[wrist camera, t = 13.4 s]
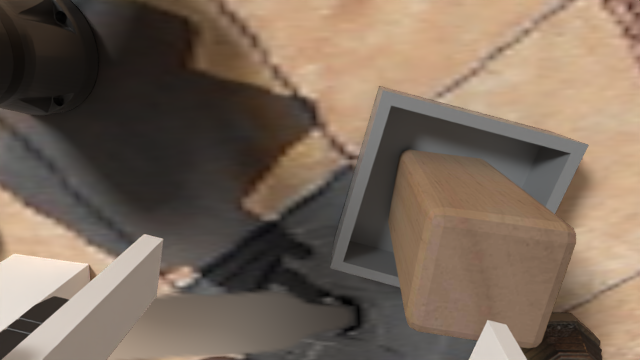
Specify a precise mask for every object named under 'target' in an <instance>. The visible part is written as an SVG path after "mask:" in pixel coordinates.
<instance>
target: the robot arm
mask: <svg viewBox="0 0 640 360" xmlns="http://www.w3.org/2000/svg"><path fill="white" fill-rule="evenodd" d="M97 73H98V52H97V46H96V42H95V39H94V36H93V33H92V31H91V29H90V26H89V25H88V23H87V21H86V19H85V18H84V16H83V15H82V13H81V12H80V11H79V9H78V8H77V7H76V6H75V5H74V4H73V3H72V2H71V1H70V0H0V108H3V109H7V110H12V111H17V112H21V113H26V114H32V115H49V114H55V113H61V112H65V111H68V110H71V109H73V108H75V107H77V106H78V105H79V104H81V103H82V102H83V101H84V100H85V99H86V98H87V97H88V95H89V94H90V92H91V90H92V89H93V86H94V84H95V81H96V78H97ZM162 245H163V239H162V238H158V237H154V236H150V235H146V234H144V235H143V236H141V237H140V238H139V239H138V240H137V241H136V242H135V243H133V244H132V245H131V246H130V247H129V248H128V249H127V250H126V251H124V252H123V253H122V254H121V255H120V256H119V257H118V258H116V259H115V260H114V261H113V262H112V263H111V264H110V265H109V266H107V267H106V268H105V269H104V270H103V271H102V272H101V273H99V274H98V275H97V276H96V277H95V278H94V279H93V280H91V281H90V282H89V283H88V284H87V285H86V286H85V287H84V288H82V289H81V290H80V291H79V292H78V293H77V294H76V295H74V296H73V297H72V298H71V299H70V300H69V299H65V298H61V297H57V296H53V297H51V298H49V299H46V300H44V301H42V302H40V303H38V304H35V305H34V306H33V307H31V308H30V309H29V310H28V311H26V312H25V313H24V314H23V315H21V316H20V318H19V319H16V320H15V321H14V322H13V323H11V324H10V325H9V326H8V327H7V329H6V330H5V329H4V330H3V331H1V332H0V360H107V359H108V357H109V356H110V355H111V354H112V352H113V351H114V350H115V348H116V347H117V346H118V345H119V343H120V342H121V341H122V340H123V338H124V337H125V336H126V335H127V333H128V332H129V331H130V330H131V328H132V327H133V326H134V324H135V323H136V322H137V321H138V319H139V318H140V317H141V316H142V314H143V313H144V312H145V311H146V309H147V308H148V307H149V306H150V304H151V303H152V302H153V300H154V299H155V298H156V297H157V288H158V280H159V271H160V262H161V254H162ZM469 360H527V359H526V357H525V355H524V354H523V352H522V350H521V349H520V347H519V345H518V343H517V342H516V340H515V338H514V337H513V335H512V333H511V332H510V330H509V328H508V326H507V325H506V324H502V323H498V322H494V321H490V320H487V323H486V325H485V327H484V329H483V331H482V333H481V335H480V337H479V339H478V342H477V344H476V346H475V348H474V350H473V352H472V354H471V356H470V358H469Z"/></svg>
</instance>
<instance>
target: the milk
mask: <svg viewBox="0 0 640 360" xmlns="http://www.w3.org/2000/svg"><path fill="white" fill-rule="evenodd" d="M89 282H90V271H89V264H84V263H77V262H69V261H62V260H55V259H48V258H41V257H34V256H27V255H20V254H13V255H11V256H10V257H8V258H7V259H5V260H3V261H2V262H0V332H1V331H3V330H4V329H5V330H6V329H7V327H8V326H9V325H10V324H11V323H13V322H14V321H15V320H16V319H19V318H20V316H21V315H23V314H24V313H25V312H26V311H28V310H29V309H30V308H31V307H33V306H34V305H35V304H38V303H40V302H42V301H44V300H46V299H49V298H51V297H53V296H57V297H61V298H65V299H69V300H70V299H71V298H72V297H73V296H74V295H76V294H77V293H78V292H79V291H80V290H81V289H82V288H84V287H85V286H86V285H87V284H88V283H89Z"/></svg>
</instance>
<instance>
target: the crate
mask: <svg viewBox="0 0 640 360" xmlns="http://www.w3.org/2000/svg"><path fill="white" fill-rule="evenodd" d="M587 147H588V144H585V143H582V142H579V141H576V140H573V139H571V138H568V137H565V136H562V135H559V134H557V133H554V132H550V131H546V130H543V129H539V128H535V127H531V126H528V125H524V124H520V123H516V122H513V121H509V120H505V119H501V118H498V117H494V116H490V115H486V114H483V113H479V112H475V111H471V110H467V109H464V108H460V107H456V106H452V105H449V104H445V103H441V102H437V101H434V100H430V99H426V98H422V97H419V96H415V95H411V94H407V93H404V92H400V91H396V90H392V89H388V88H385V87H381V86H379V89H378V92H377V96H376V99H375V102H374V106H373V109H372V113H371V116H370V119H369V123H368V126H367V130H366V133H365V137H364V140H363V143H362V147H361V150H360V154H359V157H358V160H357V164H356V167H355V171H354V174H353V177H352V181H351V184H350V188H349V191H348V194H347V198H346V201H345V205H344V208H343V212H342V215H341V218H340V222H339V225H338V229H337V232H336V235H335V239H334V244H333V251H332V258H331V265H330V268H331V269H335V270H338V271H342V272H346V273H349V274H353V275H356V276H360V277H364V278H367V279H371V280H375V281H378V282H382V283H385V284H389V285H393V286H396V287H400V283H399V278H398V272H397V267H396V261H395V256H394V251H393V245H392V240H391V234H390V229H389V224H388V218H389V212H390V206H391V201H392V195H393V189H394V184H395V178H396V172H397V167H398V161H399V156H400V155H401V153H402V152H403V151H406V150H417V151H425V152H433V153H441V154H449V155H457V156H465V157H473V158H481V159H483V160H484V161H486V162H488V163H489V164H490V165H492V166H493V167H494V168H495V169H497V170H498V171H499V172H501V173H502V174H503V175H505V176H506V177H507V178H509V179H510V180H511V181H512V182H514V183H515V184H516V185H518V186H519V187H520V188H522V189H523V190H524V191H525V192H527V193H528V194H529V195H531V196H532V197H533V198H535V199H536V200H537V201H538V202H540V203H541V204H542V205H544V206H545V207H546V208H548V209H549V210H550V211H551V212H553V213H554V214H555V213H556V211H557V209H558V206H559V204H560V202H561V200H562V198H563V196H564V194H565V192H566V190H567V188H568V186H569V184H570V182H571V180H572V178H573V176H574V174H575V172H576V170H577V168H578V166H579V164H580V162H581V160H582V157H583V155H584V153H585V151H586V149H587Z"/></svg>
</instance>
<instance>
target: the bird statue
mask: <svg viewBox="0 0 640 360" xmlns="http://www.w3.org/2000/svg"><path fill="white" fill-rule="evenodd" d="M599 346H600V341H599V339H598V338H597V337H596V336H595V335H594V334H593V333H592V332H591V331H590V330H589V329H588V328H587V327H586V326H585V325H583V324H582V323H581V322H580V321H579V320H578V319H577V318H576V317H574V316H573V315H572V314H571V313H551V316H550V319H549V322H548V325H547V328H546V330H545V333H544V336H543V339H542V342H541V343H540V344H539V345H538V346H537V347H533V348H523V347H520V349H521V350H522V352H523V354H524V355H525V357H526V359H527V360H602V356H601V351H602V350H601V349H600V347H599Z"/></svg>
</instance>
